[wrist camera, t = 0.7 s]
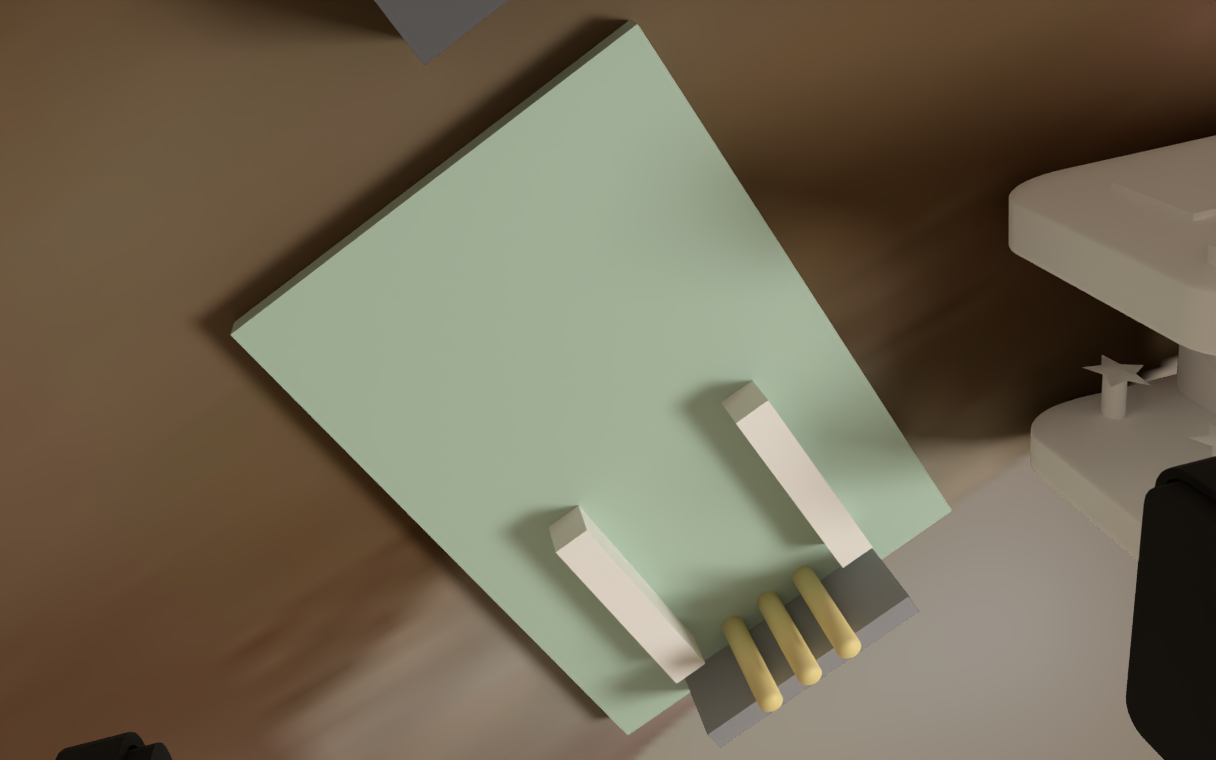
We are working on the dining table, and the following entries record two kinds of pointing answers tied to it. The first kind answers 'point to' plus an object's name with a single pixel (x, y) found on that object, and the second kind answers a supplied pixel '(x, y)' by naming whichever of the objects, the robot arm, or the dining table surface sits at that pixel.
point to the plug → (435, 21)
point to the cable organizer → (1147, 292)
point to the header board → (613, 402)
